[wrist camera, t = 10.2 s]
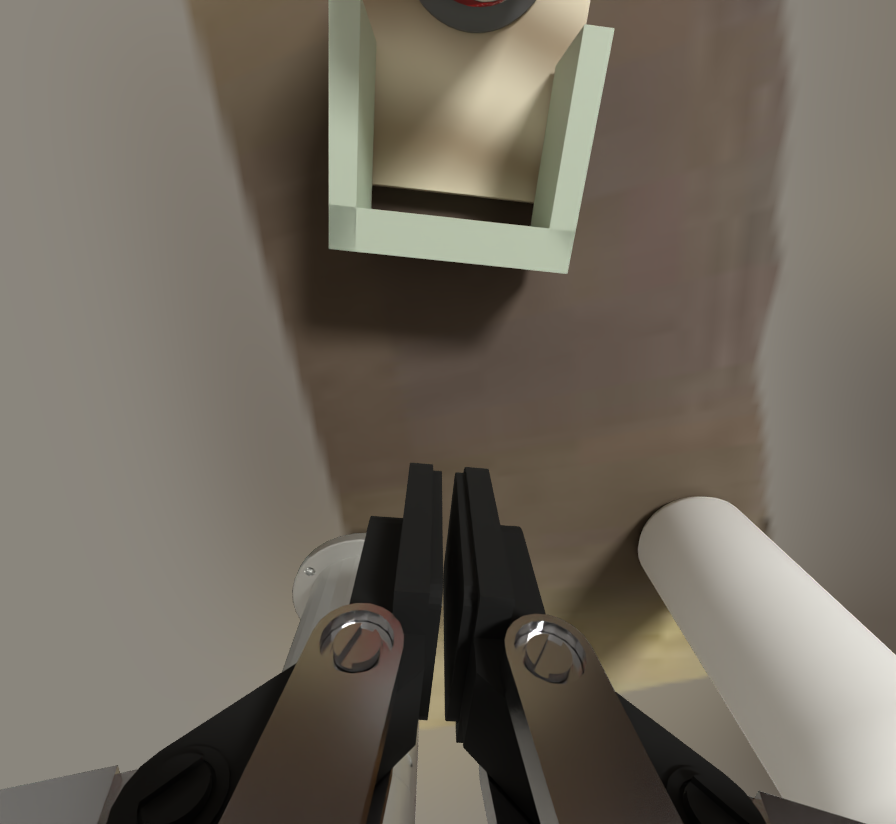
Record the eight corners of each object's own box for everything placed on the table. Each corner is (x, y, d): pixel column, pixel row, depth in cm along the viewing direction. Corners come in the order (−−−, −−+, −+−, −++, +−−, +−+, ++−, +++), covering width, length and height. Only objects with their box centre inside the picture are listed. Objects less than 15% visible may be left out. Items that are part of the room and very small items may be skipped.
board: (550, 205, 27) (556, 204, 26) (353, 183, 26) (349, 180, 25) (612, -161, 21) (624, -188, 20) (360, -202, 21) (355, -233, 19)
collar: (545, 266, 27) (567, 273, 22) (348, 246, 26) (328, 248, 22) (579, 68, 23) (614, 28, 19) (351, 39, 23) (328, -11, 18)
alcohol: (732, 571, 38) (1507, 1464, 11) (631, 582, 39) (1126, 1484, 11) (746, 484, 35) (1928, 1453, 7) (635, 497, 35) (1366, 1481, 7)
